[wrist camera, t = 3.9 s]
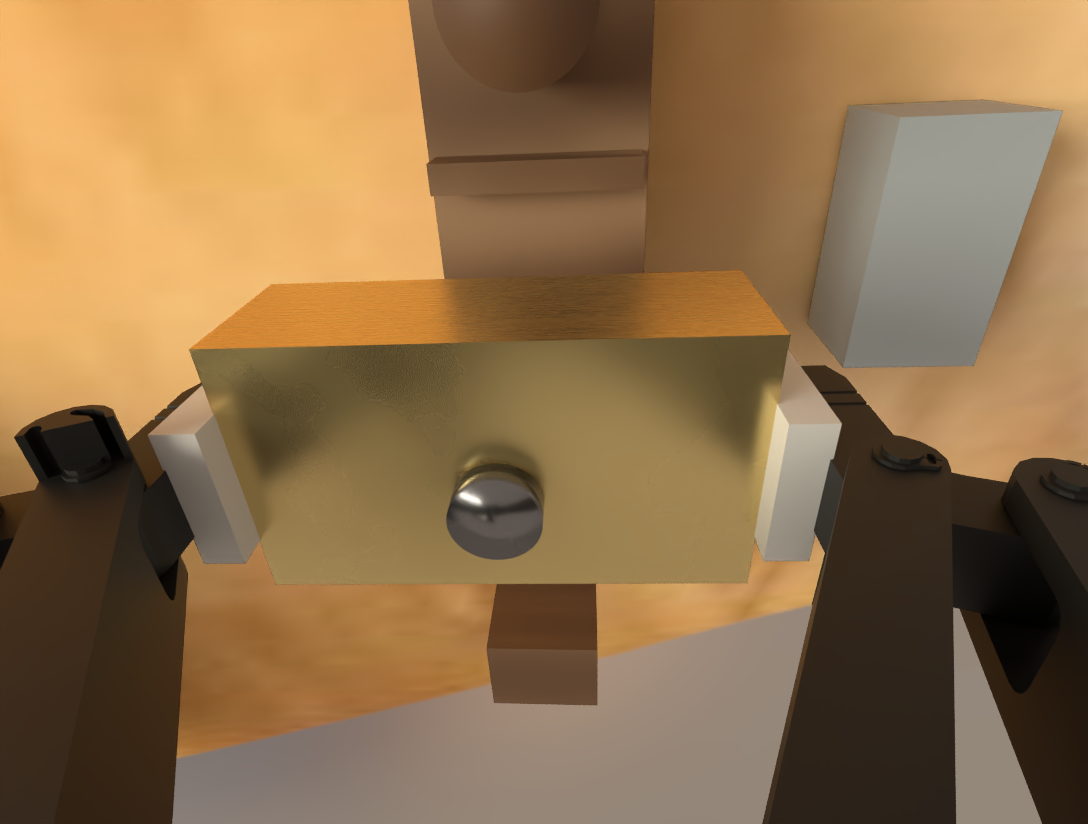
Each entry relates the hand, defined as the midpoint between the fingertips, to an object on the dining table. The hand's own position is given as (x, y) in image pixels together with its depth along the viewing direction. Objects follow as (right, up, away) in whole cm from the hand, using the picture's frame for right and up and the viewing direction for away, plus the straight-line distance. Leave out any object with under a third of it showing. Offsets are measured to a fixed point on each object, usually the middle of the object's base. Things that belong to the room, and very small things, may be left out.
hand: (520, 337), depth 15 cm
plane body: (+1, +4, +9) cm, 10 cm away
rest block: (+13, +5, +7) cm, 16 cm away
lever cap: (0, -2, -2) cm, 3 cm away
